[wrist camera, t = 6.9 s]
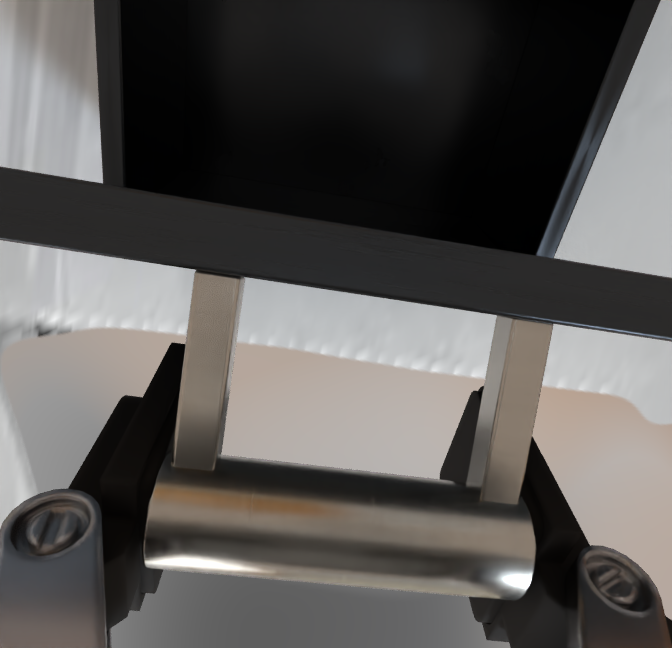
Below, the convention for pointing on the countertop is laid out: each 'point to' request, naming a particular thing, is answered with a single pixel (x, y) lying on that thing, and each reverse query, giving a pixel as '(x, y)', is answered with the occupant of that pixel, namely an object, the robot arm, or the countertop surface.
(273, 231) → the bin lid
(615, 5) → the bin
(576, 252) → the countertop surface
